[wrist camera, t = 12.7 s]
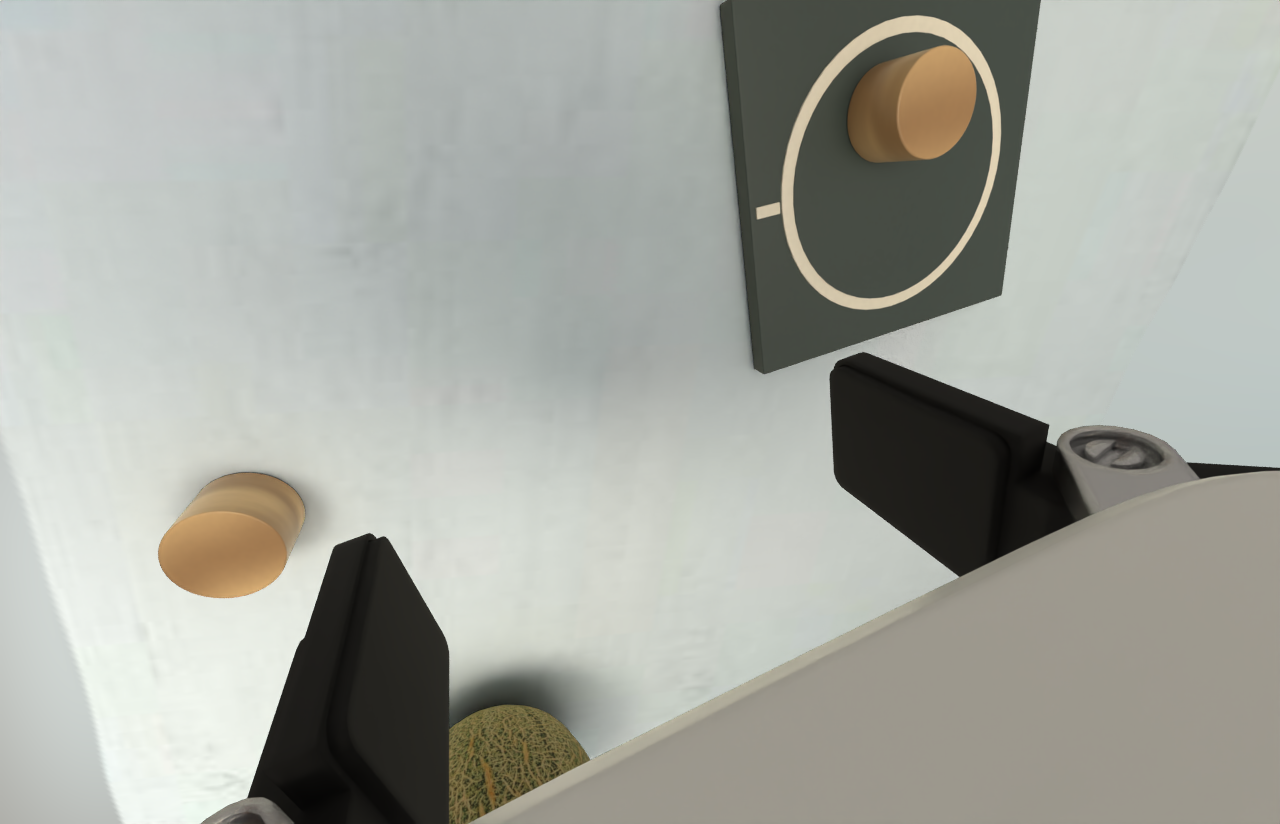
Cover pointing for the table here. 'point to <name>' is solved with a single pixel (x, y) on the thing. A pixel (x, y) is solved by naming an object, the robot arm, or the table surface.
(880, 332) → the slate board
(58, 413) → the table surface
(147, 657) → the table surface
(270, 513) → the tan cork stopper
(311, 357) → the table surface
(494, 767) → the fruit
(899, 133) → the tan cork puck
